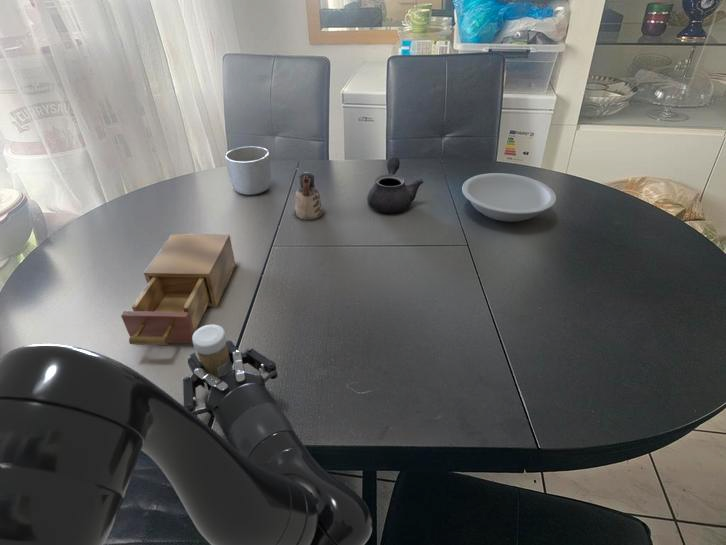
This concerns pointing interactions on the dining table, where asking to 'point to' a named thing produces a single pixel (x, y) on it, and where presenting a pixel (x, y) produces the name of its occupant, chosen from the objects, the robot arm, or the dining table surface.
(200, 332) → the sprinkles bottle
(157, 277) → the drawer
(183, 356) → the dining table surface
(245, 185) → the planter
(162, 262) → the cabinet
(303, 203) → the figurine
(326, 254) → the dining table surface
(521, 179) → the soup bowl
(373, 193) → the teapot
